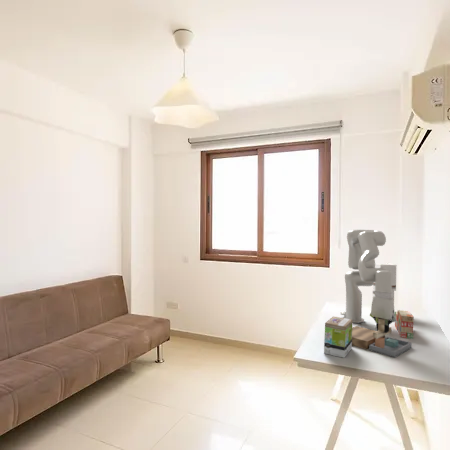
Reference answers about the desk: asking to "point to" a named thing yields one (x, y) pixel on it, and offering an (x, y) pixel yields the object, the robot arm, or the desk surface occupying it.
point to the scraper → (381, 329)
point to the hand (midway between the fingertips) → (382, 331)
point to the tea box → (338, 336)
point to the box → (392, 351)
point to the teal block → (391, 343)
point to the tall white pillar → (393, 270)
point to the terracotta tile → (380, 342)
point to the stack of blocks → (404, 323)
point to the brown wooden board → (362, 337)
